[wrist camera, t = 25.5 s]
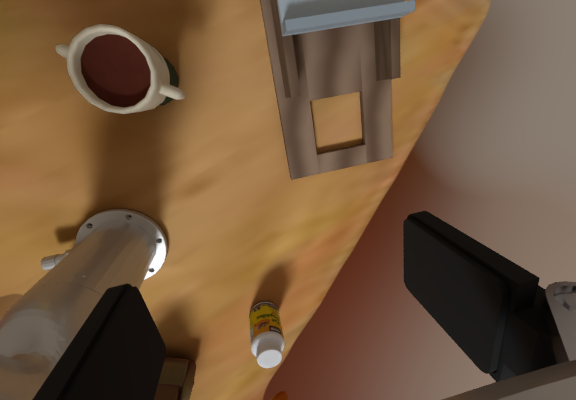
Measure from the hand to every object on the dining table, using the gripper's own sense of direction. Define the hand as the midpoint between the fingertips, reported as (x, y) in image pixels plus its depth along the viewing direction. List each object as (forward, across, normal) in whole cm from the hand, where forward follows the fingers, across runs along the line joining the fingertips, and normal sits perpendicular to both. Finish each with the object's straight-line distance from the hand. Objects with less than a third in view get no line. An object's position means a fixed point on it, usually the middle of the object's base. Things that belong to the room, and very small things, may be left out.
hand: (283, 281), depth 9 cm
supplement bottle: (+34, +4, +32) cm, 46 cm away
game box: (+33, -14, -6) cm, 37 cm away
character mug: (+34, +10, -10) cm, 36 cm away
